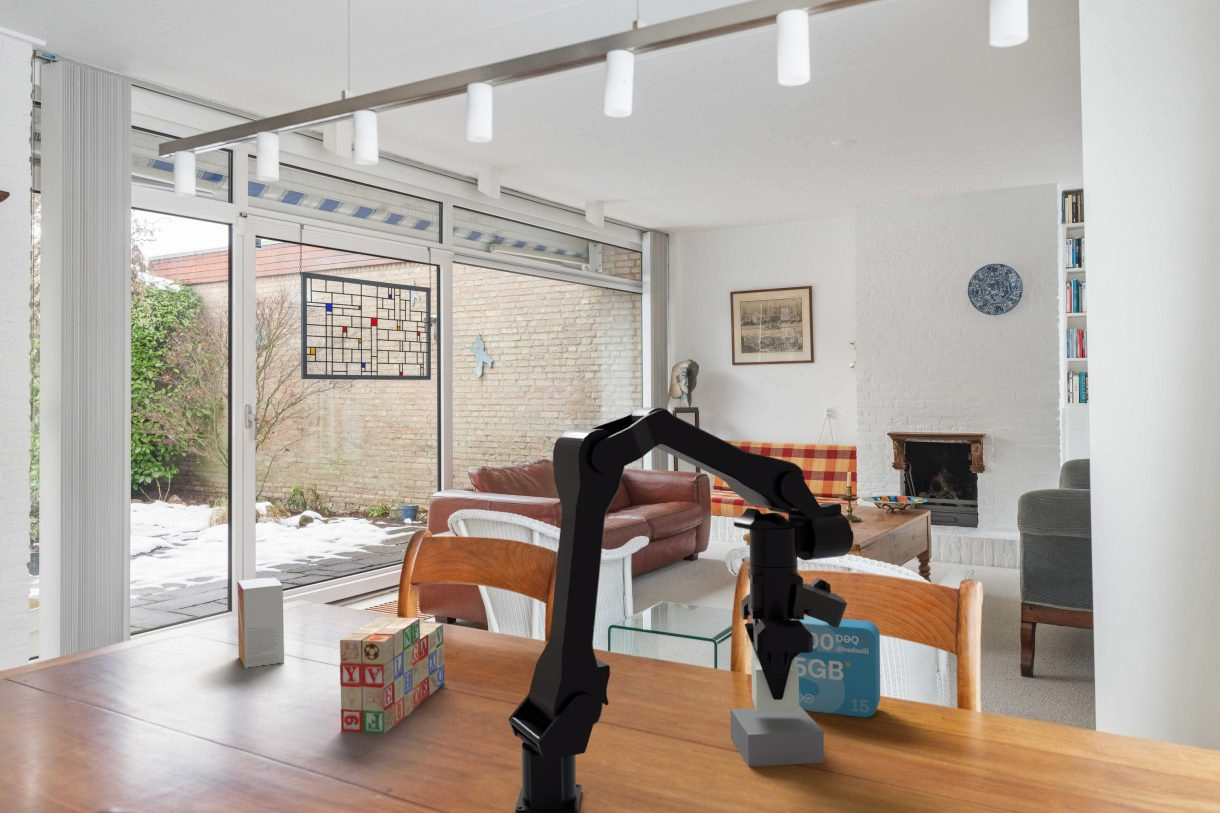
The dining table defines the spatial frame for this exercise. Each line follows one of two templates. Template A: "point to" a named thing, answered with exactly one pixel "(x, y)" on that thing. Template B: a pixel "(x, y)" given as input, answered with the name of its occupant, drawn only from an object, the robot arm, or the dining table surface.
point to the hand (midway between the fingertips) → (774, 692)
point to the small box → (260, 622)
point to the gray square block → (776, 737)
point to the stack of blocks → (388, 672)
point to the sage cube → (763, 695)
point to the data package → (840, 668)
